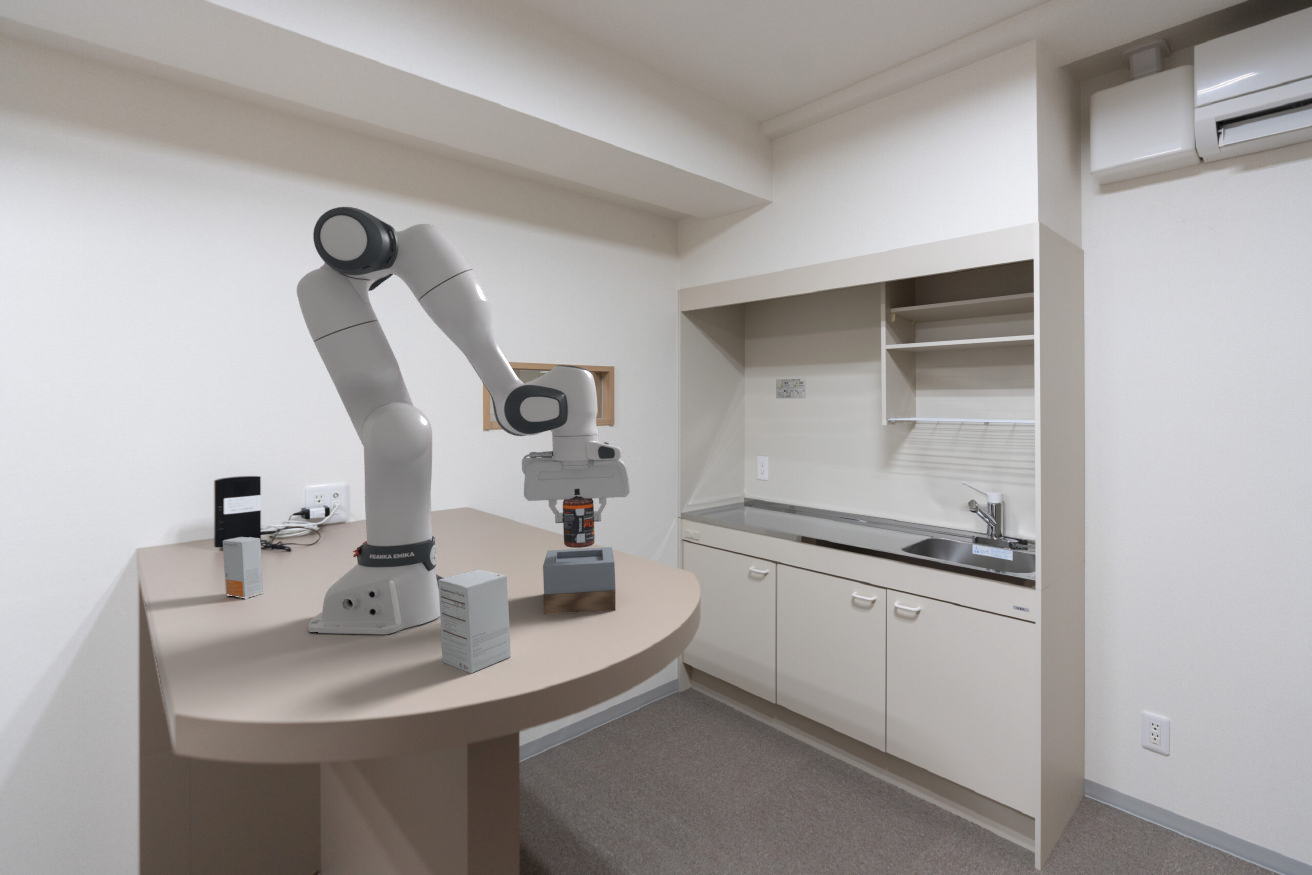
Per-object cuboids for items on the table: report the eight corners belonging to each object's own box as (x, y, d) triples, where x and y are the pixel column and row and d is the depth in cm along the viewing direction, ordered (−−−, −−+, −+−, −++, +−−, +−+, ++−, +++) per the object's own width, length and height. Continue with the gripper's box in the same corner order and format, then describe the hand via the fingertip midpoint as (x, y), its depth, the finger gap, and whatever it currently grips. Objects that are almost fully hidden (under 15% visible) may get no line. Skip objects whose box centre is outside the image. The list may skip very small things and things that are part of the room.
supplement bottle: (589, 549, 117) (587, 489, 117) (559, 548, 118) (557, 489, 118) (598, 541, 123) (596, 484, 122) (570, 541, 124) (567, 484, 124)
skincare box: (224, 597, 130) (221, 540, 129) (245, 591, 134) (241, 536, 133) (244, 599, 128) (241, 542, 127) (264, 593, 132) (261, 537, 131)
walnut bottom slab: (544, 616, 114) (543, 594, 114) (551, 595, 127) (550, 575, 127) (615, 612, 115) (614, 591, 114) (615, 592, 128) (614, 572, 127)
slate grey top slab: (544, 594, 114) (542, 566, 114) (548, 575, 127) (547, 550, 126) (615, 590, 115) (614, 562, 115) (612, 572, 128) (611, 547, 128)
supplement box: (482, 646, 99) (479, 567, 98) (512, 657, 94) (508, 574, 93) (440, 662, 93) (436, 578, 92) (469, 674, 88) (465, 586, 88)
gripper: (518, 453, 116) (521, 527, 117) (628, 449, 117) (631, 522, 118) (523, 451, 122) (526, 521, 123) (628, 447, 123) (630, 516, 124)
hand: (578, 521), depth 120 cm, fingers closed on supplement bottle, 6 cm apart
